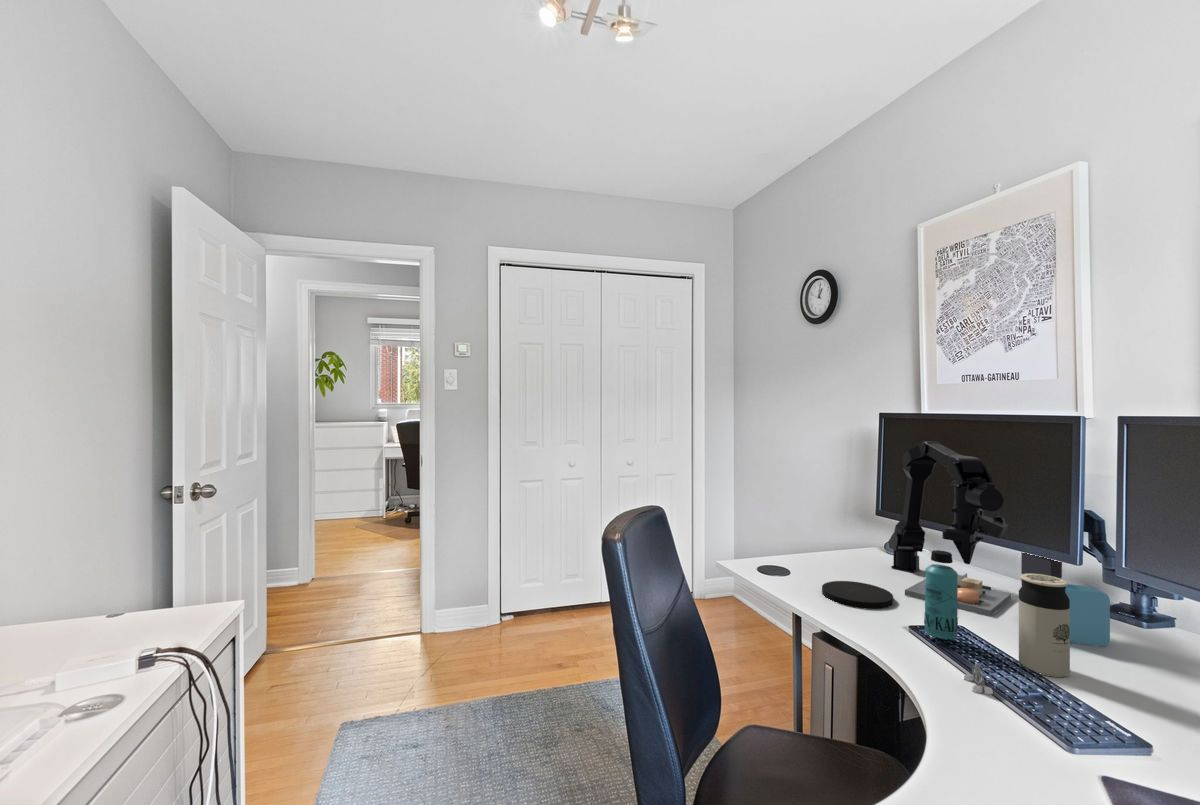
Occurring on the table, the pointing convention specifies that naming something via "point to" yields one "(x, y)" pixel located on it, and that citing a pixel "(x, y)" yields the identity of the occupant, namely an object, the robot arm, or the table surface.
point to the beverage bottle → (941, 597)
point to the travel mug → (1044, 625)
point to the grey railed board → (987, 604)
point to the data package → (1089, 615)
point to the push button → (967, 596)
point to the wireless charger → (857, 594)
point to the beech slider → (972, 584)
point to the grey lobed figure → (978, 680)
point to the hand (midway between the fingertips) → (967, 563)
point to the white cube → (961, 577)
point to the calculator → (1040, 566)
